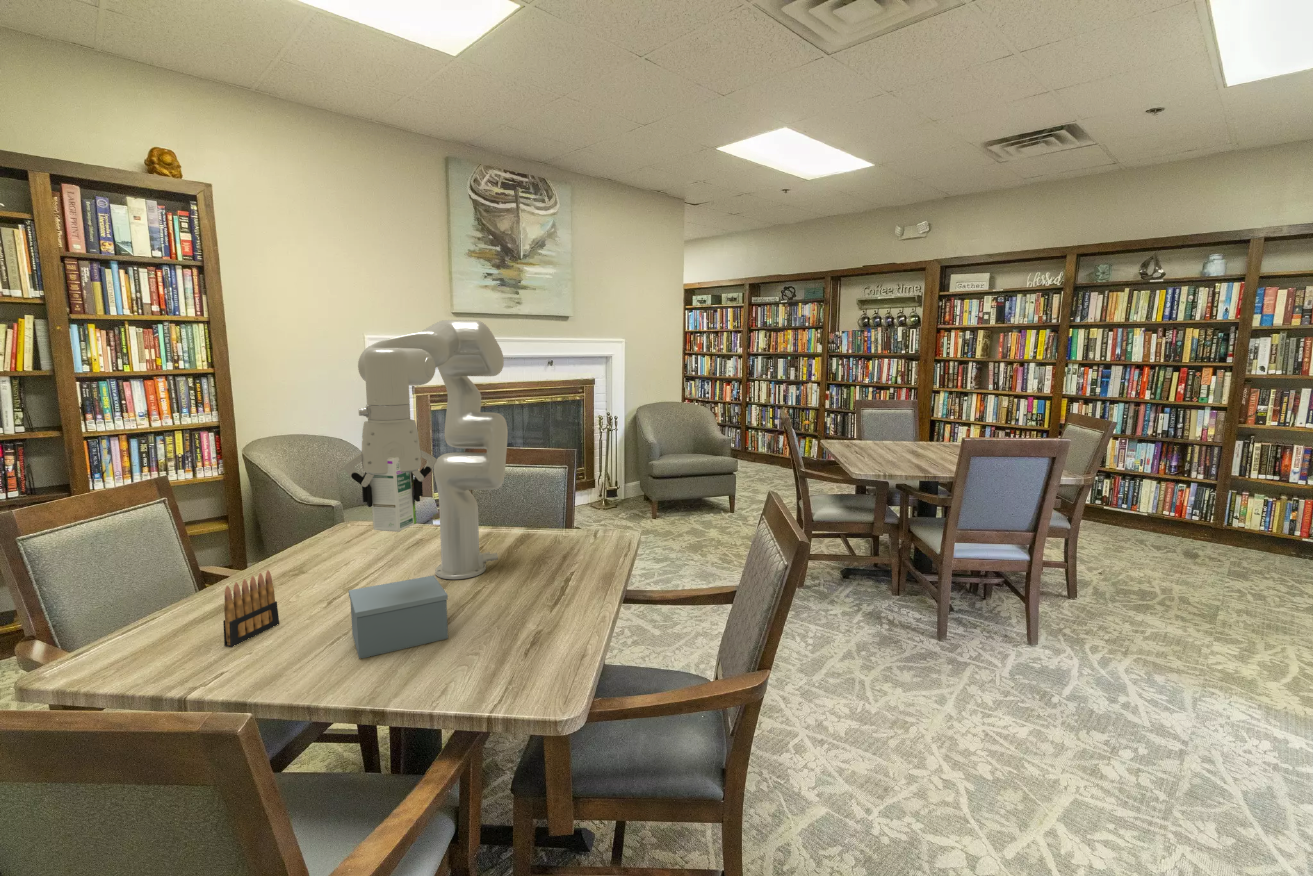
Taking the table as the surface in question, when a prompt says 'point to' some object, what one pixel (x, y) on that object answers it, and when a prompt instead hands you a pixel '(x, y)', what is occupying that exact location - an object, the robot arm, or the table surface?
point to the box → (399, 628)
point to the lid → (396, 596)
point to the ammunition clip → (249, 610)
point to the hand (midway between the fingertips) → (393, 502)
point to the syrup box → (393, 498)
